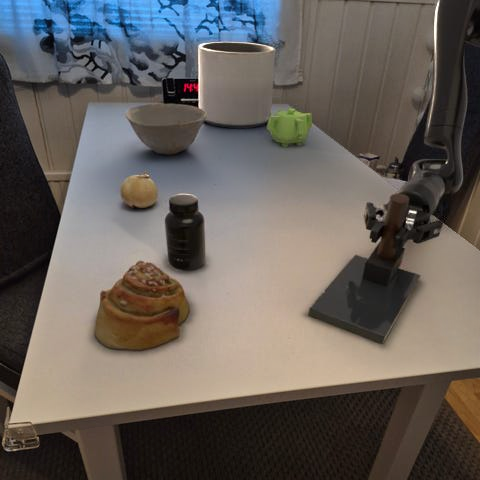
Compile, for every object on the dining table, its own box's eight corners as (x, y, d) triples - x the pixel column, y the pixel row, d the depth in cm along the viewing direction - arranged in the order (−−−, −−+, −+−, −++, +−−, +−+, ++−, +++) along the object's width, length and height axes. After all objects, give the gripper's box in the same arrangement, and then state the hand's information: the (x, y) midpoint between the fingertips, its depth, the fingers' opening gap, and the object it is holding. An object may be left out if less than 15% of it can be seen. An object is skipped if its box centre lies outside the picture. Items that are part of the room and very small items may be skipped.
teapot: (311, 140, 141) (315, 107, 135) (301, 150, 133) (305, 115, 127) (276, 135, 145) (278, 102, 138) (264, 144, 136) (266, 110, 130)
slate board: (353, 261, 83) (355, 254, 82) (418, 282, 78) (420, 274, 77) (308, 315, 70) (309, 307, 69) (382, 344, 65) (384, 336, 64)
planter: (231, 134, 143) (233, 55, 129) (184, 117, 157) (181, 44, 144) (285, 122, 157) (292, 49, 143) (237, 107, 171) (239, 40, 158)
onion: (139, 215, 95) (135, 183, 90) (114, 205, 98) (110, 173, 94) (166, 204, 100) (163, 172, 96) (141, 194, 104) (138, 164, 99)
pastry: (193, 292, 73) (192, 249, 68) (180, 353, 62) (177, 307, 57) (113, 287, 73) (106, 244, 69) (85, 348, 62) (74, 302, 57)
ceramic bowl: (116, 159, 121) (111, 120, 115) (145, 135, 139) (142, 100, 133) (195, 167, 119) (194, 127, 113) (214, 141, 137) (214, 106, 131)
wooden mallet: (376, 256, 80) (393, 184, 70) (400, 264, 78) (421, 191, 69) (362, 277, 76) (377, 204, 66) (387, 286, 74) (406, 212, 64)
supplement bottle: (178, 249, 84) (174, 188, 77) (211, 256, 83) (211, 194, 75) (161, 267, 79) (155, 203, 72) (196, 275, 77) (194, 210, 70)
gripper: (381, 174, 81) (347, 206, 70) (461, 192, 76) (438, 230, 64) (372, 212, 86) (338, 248, 74) (447, 232, 81) (423, 274, 69)
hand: (385, 240), depth 69 cm, fingers closed on wooden mallet, 3 cm apart
